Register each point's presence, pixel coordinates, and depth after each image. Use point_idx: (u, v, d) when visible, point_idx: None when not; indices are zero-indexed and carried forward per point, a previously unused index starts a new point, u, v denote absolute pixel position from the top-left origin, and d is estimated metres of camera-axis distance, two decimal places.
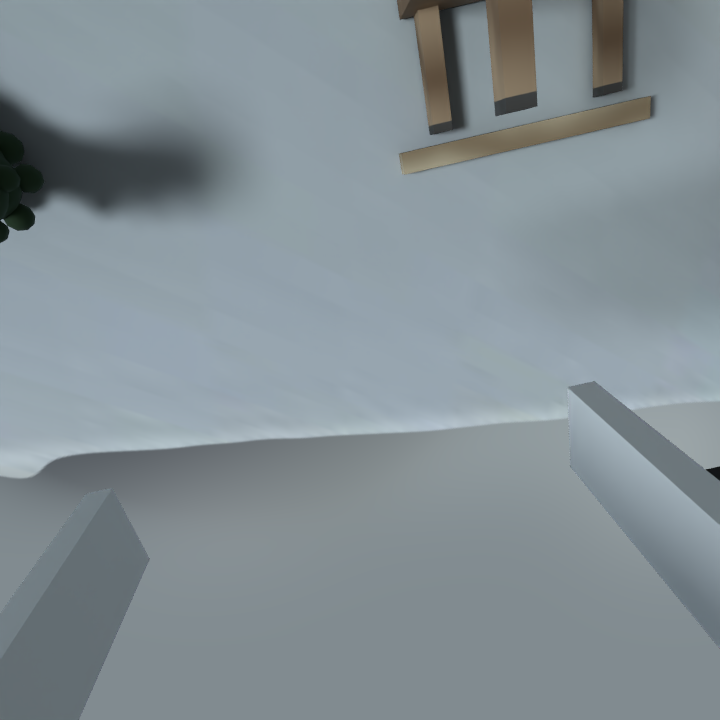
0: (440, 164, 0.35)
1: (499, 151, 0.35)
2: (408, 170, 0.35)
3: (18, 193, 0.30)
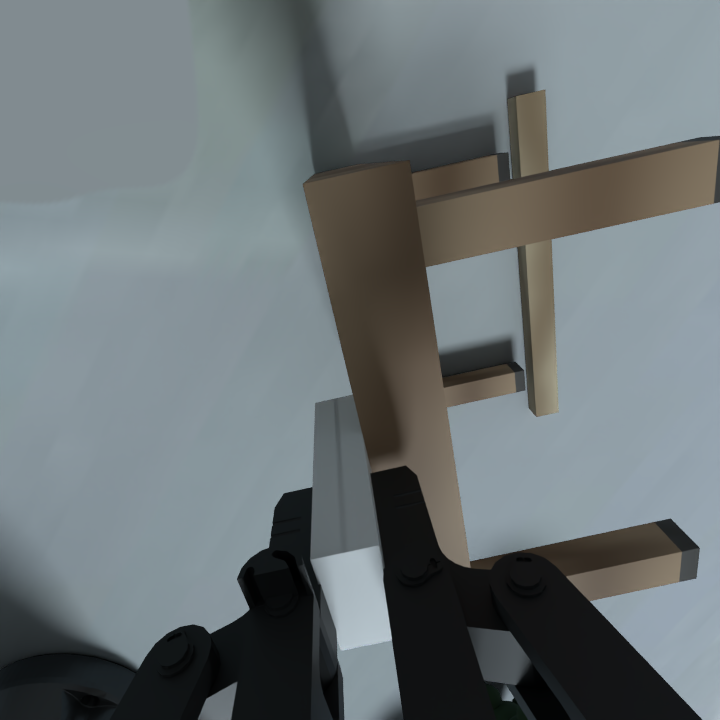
0: (555, 375, 0.30)
1: (552, 307, 0.28)
2: (555, 408, 0.31)
3: None
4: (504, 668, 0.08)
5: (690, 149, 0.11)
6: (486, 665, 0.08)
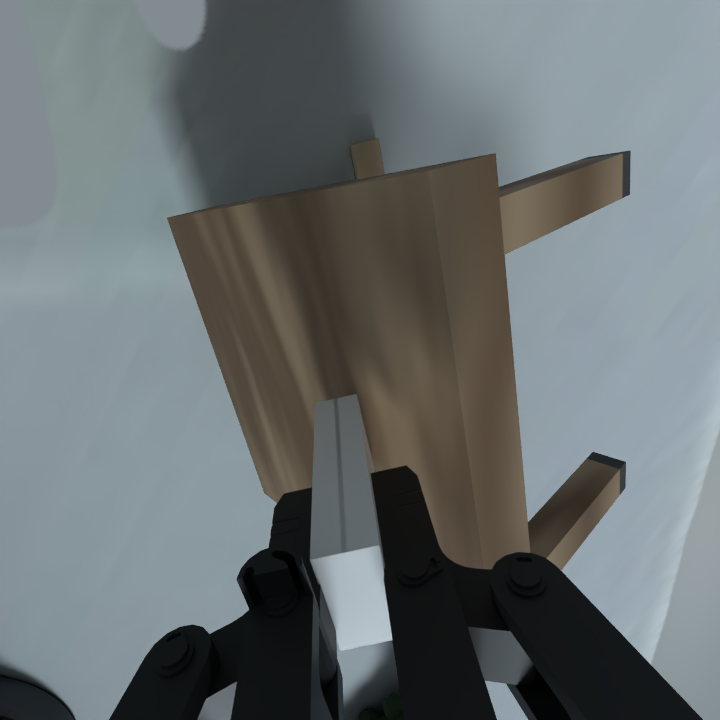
0: None
1: None
2: None
3: None
4: (504, 668, 0.08)
5: (612, 159, 0.15)
6: (487, 665, 0.08)
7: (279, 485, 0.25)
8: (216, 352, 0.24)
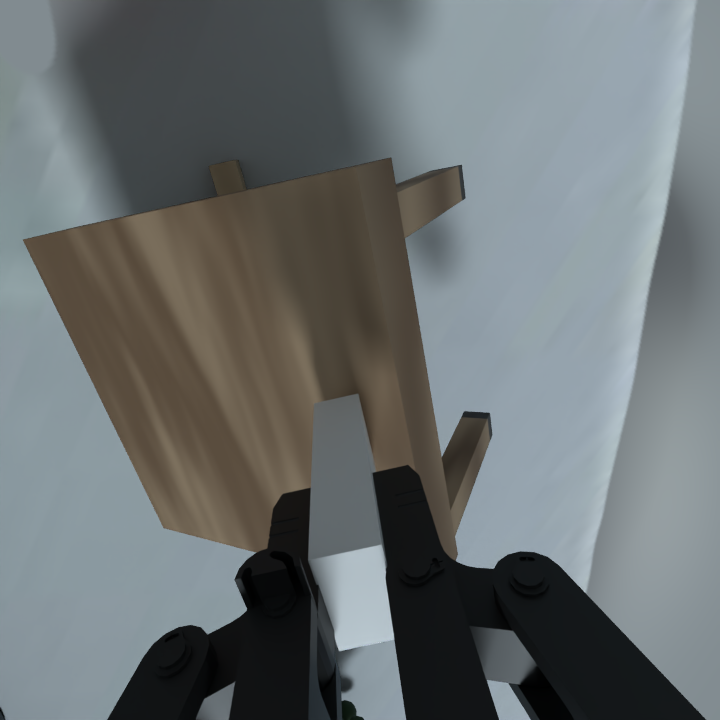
0: None
1: None
2: None
3: None
4: (507, 668, 0.08)
5: (453, 170, 0.19)
6: (489, 664, 0.08)
7: (186, 511, 0.24)
8: (96, 381, 0.22)
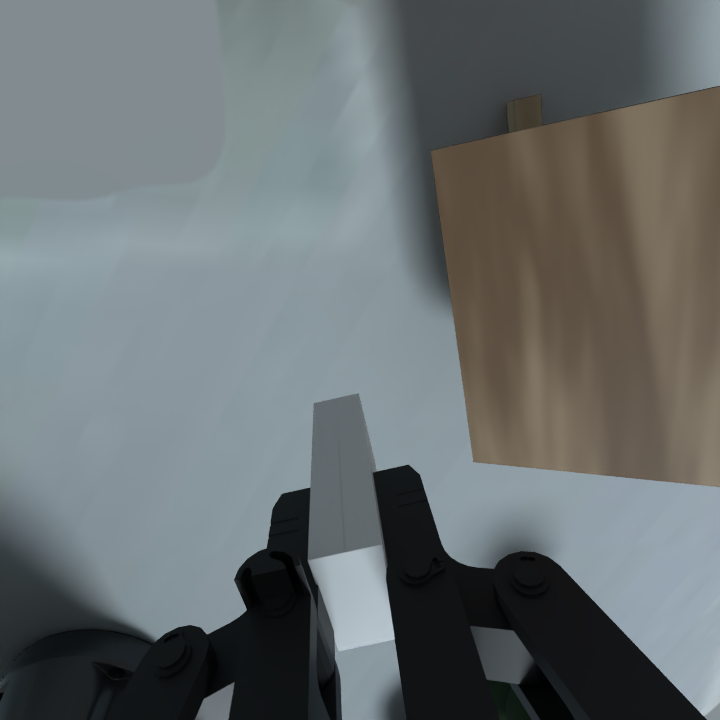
0: None
1: None
2: None
3: None
4: (508, 667, 0.08)
5: None
6: (489, 664, 0.08)
7: (521, 439, 0.24)
8: (458, 303, 0.22)
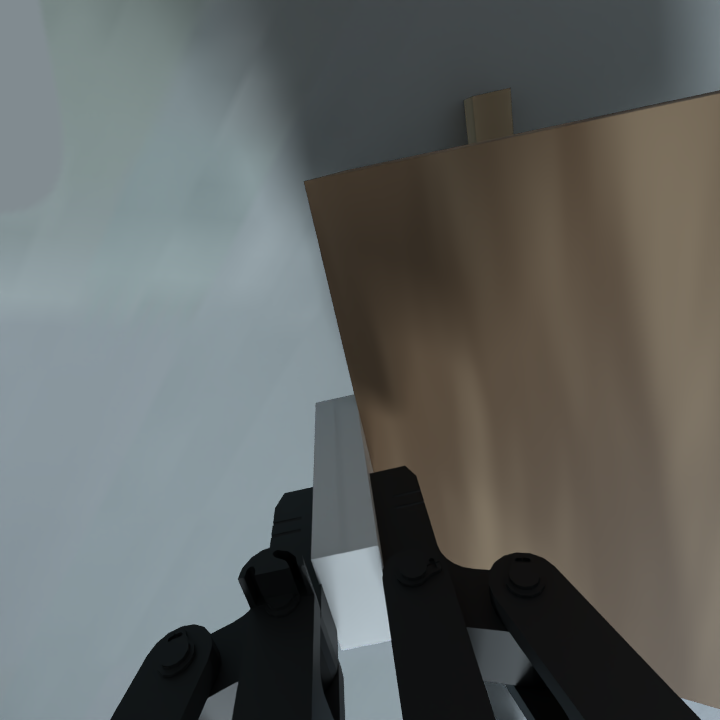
0: None
1: None
2: None
3: None
4: (503, 668, 0.08)
5: None
6: (485, 665, 0.08)
7: None
8: (367, 413, 0.14)
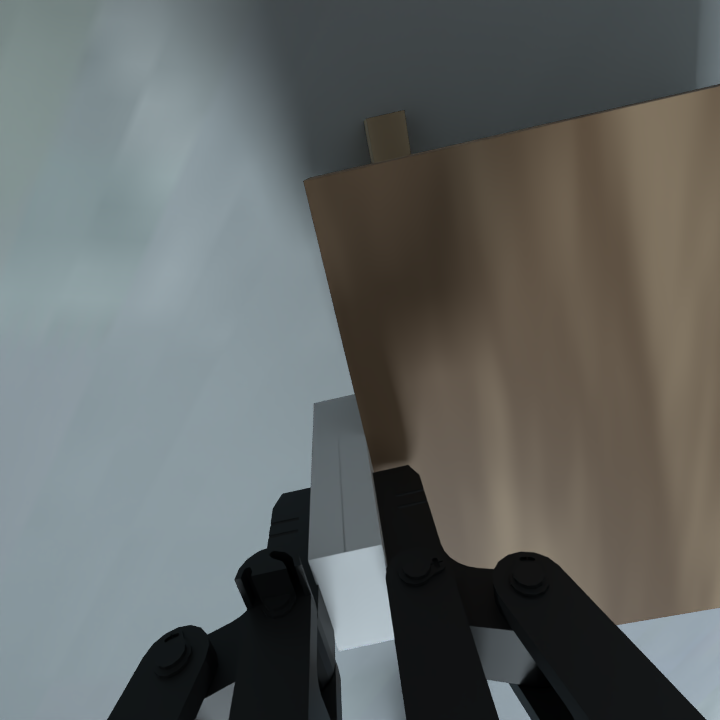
0: None
1: None
2: None
3: None
4: (507, 668, 0.08)
5: None
6: (489, 664, 0.08)
7: None
8: (377, 437, 0.13)
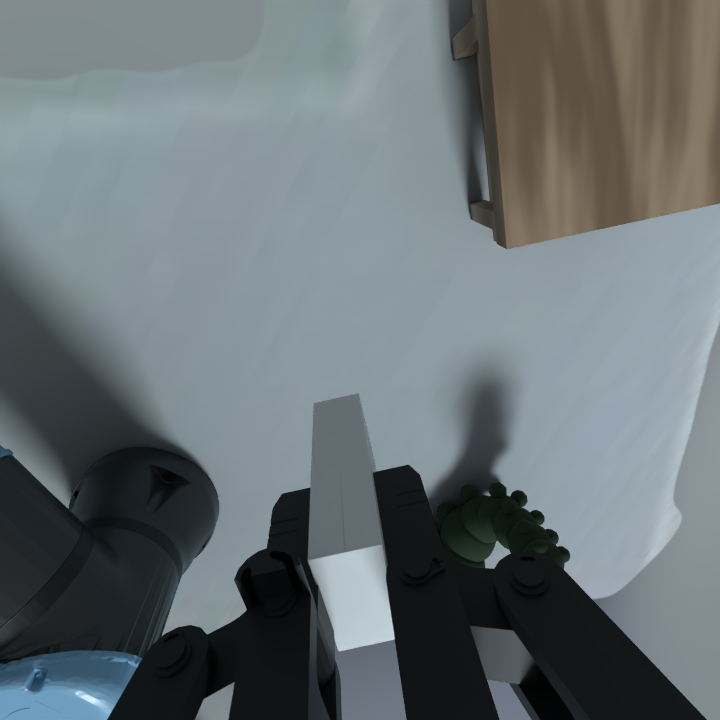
0: None
1: None
2: None
3: (508, 498, 0.49)
4: (508, 667, 0.08)
5: None
6: (490, 664, 0.08)
7: (542, 216, 0.33)
8: (499, 106, 0.30)
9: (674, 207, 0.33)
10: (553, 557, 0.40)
